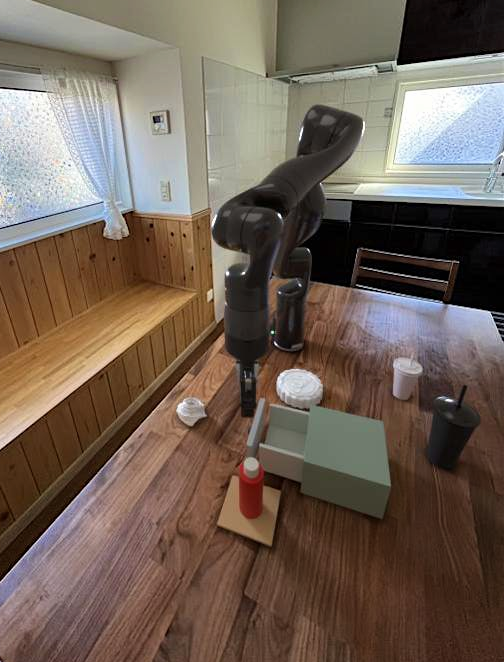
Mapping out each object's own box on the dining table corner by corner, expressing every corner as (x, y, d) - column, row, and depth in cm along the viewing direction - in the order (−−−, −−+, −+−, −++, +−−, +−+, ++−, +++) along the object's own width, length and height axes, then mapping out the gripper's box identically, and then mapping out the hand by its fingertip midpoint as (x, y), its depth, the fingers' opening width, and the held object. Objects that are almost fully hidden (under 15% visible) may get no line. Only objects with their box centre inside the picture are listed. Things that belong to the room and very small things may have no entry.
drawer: (240, 467, 71) (240, 443, 68) (255, 419, 82) (255, 396, 79) (313, 490, 66) (316, 465, 63) (317, 435, 77) (320, 412, 74)
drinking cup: (411, 445, 75) (431, 374, 67) (443, 441, 75) (468, 370, 67) (436, 478, 68) (462, 403, 60) (471, 473, 68) (502, 398, 60)
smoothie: (418, 405, 85) (431, 360, 79) (391, 402, 86) (401, 358, 80) (409, 387, 90) (420, 344, 85) (384, 384, 92) (393, 342, 86)
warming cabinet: (300, 492, 66) (303, 461, 63) (307, 433, 79) (310, 404, 75) (382, 519, 61) (391, 486, 58) (376, 451, 74) (383, 421, 70)
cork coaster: (217, 525, 62) (216, 524, 61) (232, 476, 70) (232, 474, 70) (271, 547, 58) (271, 545, 58) (281, 492, 67) (281, 490, 66)
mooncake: (291, 371, 99) (292, 361, 97) (330, 391, 91) (331, 380, 89) (267, 393, 91) (268, 382, 90) (307, 417, 83) (308, 406, 82)
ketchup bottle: (234, 507, 64) (233, 464, 59) (248, 490, 67) (249, 448, 62) (252, 524, 61) (253, 481, 56) (267, 506, 64) (269, 463, 59)
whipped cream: (172, 417, 86) (168, 403, 84) (190, 400, 90) (186, 386, 88) (194, 432, 81) (191, 417, 79) (212, 413, 85) (209, 399, 83)
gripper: (225, 303, 62) (226, 371, 69) (223, 351, 50) (225, 429, 56) (265, 302, 62) (263, 371, 68) (274, 352, 49) (270, 430, 56)
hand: (246, 397), depth 62 cm, fingers open, 8 cm apart
